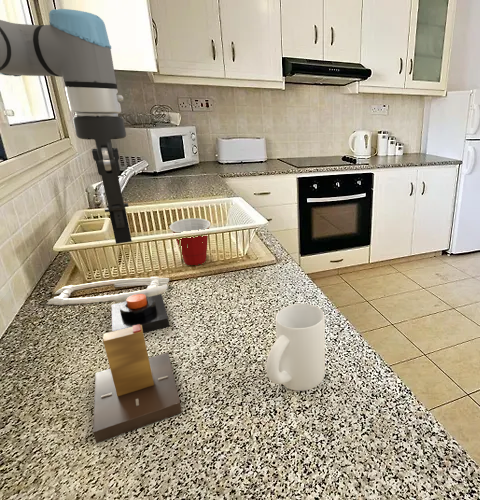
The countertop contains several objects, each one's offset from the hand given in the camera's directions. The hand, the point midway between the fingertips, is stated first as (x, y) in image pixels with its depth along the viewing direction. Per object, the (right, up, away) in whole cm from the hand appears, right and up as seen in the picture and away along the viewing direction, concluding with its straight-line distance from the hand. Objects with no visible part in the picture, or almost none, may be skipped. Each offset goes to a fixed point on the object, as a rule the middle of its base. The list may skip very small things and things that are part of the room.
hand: (123, 241), depth 74 cm
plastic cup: (-1, -6, +36) cm, 36 cm away
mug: (+35, -24, -10) cm, 44 cm away
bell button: (0, -13, +5) cm, 14 cm away
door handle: (-12, -13, +16) cm, 24 cm away
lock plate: (+11, -25, -14) cm, 31 cm away
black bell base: (0, -17, +7) cm, 18 cm away
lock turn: (+11, -23, -15) cm, 30 cm away
